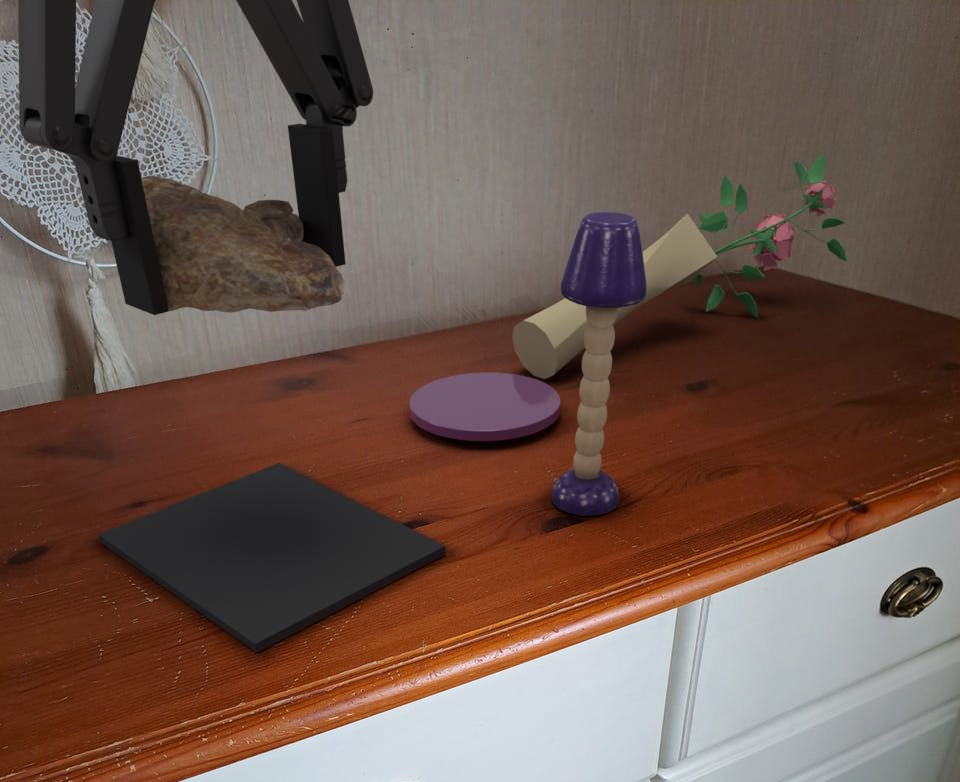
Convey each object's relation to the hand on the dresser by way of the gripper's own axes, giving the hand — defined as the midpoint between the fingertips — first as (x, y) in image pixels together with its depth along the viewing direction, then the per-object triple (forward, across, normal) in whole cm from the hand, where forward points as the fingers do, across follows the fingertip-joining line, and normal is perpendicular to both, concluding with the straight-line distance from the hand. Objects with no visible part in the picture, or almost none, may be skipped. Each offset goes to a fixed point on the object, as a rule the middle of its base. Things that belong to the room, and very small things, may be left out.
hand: (241, 283), depth 49 cm
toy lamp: (+15, +15, -11) cm, 24 cm away
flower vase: (+15, +46, +4) cm, 48 cm away
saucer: (+15, +20, +3) cm, 25 cm away
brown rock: (0, 0, 0) cm, 1 cm away
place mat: (+15, -2, -1) cm, 15 cm away
